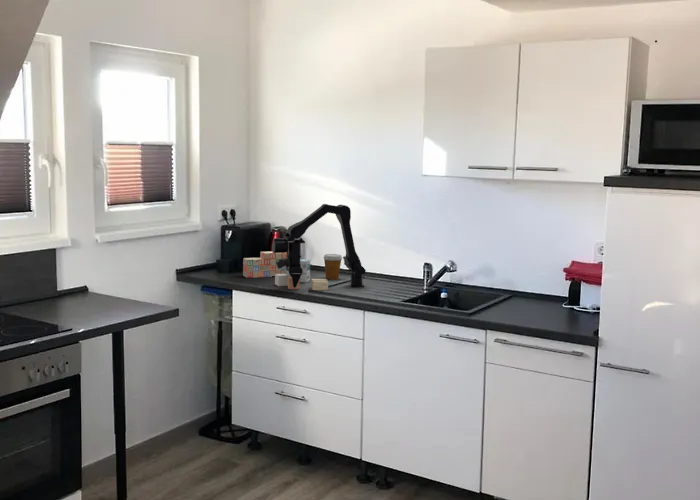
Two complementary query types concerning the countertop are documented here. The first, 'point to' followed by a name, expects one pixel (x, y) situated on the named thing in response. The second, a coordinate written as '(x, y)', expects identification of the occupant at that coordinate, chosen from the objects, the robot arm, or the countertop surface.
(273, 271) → the stack of blocks
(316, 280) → the birch block
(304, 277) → the light bulb box
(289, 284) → the terracotta cube
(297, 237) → the robot arm
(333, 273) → the disposable coffee cup
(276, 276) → the white cube
